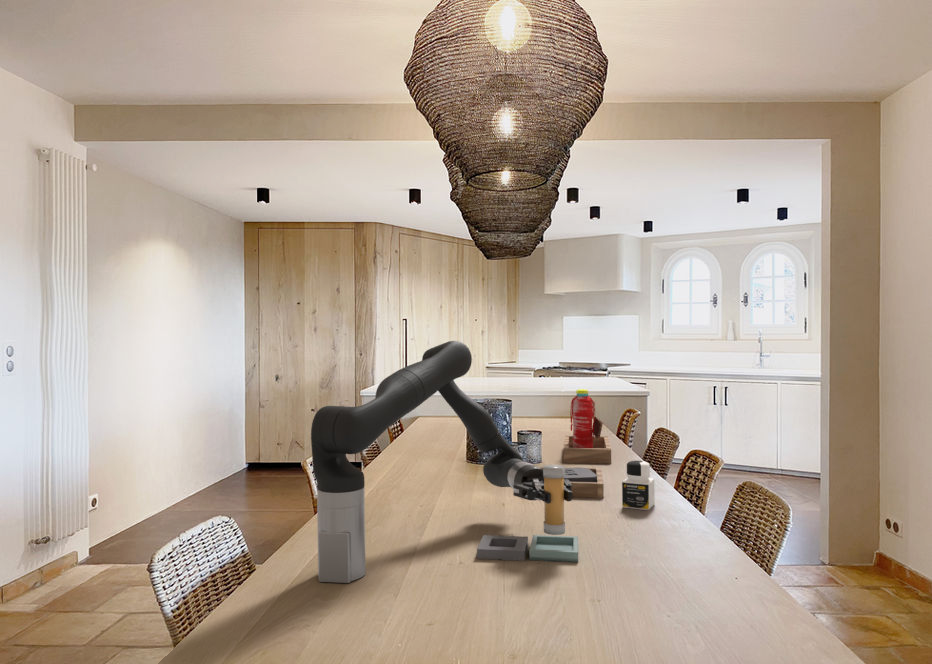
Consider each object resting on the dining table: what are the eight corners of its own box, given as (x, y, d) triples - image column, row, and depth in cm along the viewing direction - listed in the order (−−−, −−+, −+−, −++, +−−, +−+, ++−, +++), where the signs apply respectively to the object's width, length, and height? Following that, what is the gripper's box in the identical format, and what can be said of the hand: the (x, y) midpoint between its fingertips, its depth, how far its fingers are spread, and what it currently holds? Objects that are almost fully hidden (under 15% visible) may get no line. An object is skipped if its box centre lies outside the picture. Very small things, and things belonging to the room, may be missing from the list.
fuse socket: (524, 560, 143) (524, 551, 143) (476, 558, 145) (476, 549, 145) (528, 545, 153) (528, 536, 153) (483, 543, 155) (483, 535, 155)
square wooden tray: (603, 497, 196) (603, 483, 196) (526, 495, 199) (525, 481, 199) (601, 480, 217) (601, 468, 217) (531, 479, 221) (531, 466, 221)
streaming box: (599, 494, 201) (599, 477, 201) (550, 496, 199) (550, 478, 199) (586, 483, 215) (586, 467, 215) (540, 485, 214) (540, 468, 214)
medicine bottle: (622, 507, 185) (621, 462, 185) (628, 501, 191) (628, 458, 191) (648, 510, 181) (648, 465, 181) (654, 504, 188) (654, 460, 188)
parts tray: (578, 562, 142) (578, 552, 142) (529, 560, 144) (529, 550, 144) (578, 545, 153) (578, 536, 153) (533, 543, 154) (533, 534, 154)
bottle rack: (611, 463, 245) (611, 449, 245) (563, 462, 248) (563, 448, 248) (607, 448, 275) (607, 436, 275) (565, 448, 277) (565, 435, 277)
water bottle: (602, 453, 264) (602, 388, 264) (603, 457, 256) (602, 390, 256) (571, 453, 266) (570, 388, 266) (570, 456, 258) (569, 390, 258)
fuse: (565, 535, 146) (564, 469, 146) (543, 534, 147) (542, 468, 146) (565, 528, 150) (564, 464, 150) (544, 528, 151) (543, 464, 151)
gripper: (499, 466, 160) (528, 482, 143) (555, 462, 164) (590, 477, 148) (499, 498, 160) (528, 518, 144) (556, 493, 164) (590, 512, 148)
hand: (559, 497), depth 146 cm, fingers closed on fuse, 4 cm apart
